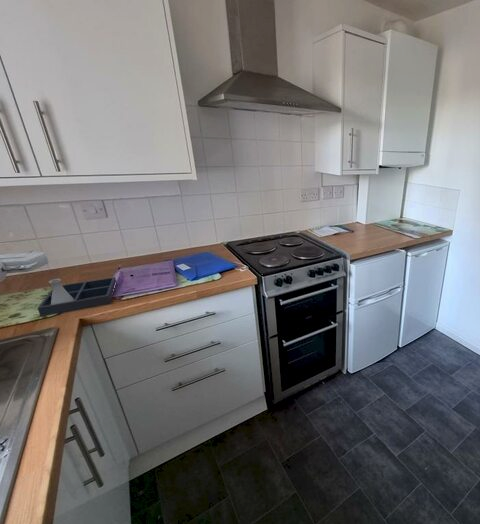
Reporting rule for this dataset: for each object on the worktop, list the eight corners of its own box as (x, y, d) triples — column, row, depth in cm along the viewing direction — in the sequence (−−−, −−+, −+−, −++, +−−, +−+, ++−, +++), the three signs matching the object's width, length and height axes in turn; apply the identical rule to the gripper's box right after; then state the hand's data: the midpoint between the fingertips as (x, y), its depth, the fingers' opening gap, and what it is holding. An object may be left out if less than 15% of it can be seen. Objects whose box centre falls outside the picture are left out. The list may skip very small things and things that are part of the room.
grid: (40, 317, 103) (37, 308, 102) (57, 294, 119) (54, 286, 118) (110, 304, 113) (108, 295, 111) (117, 284, 128) (115, 277, 127)
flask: (70, 299, 114) (62, 275, 110) (80, 303, 111) (72, 278, 107) (46, 307, 108) (36, 282, 104) (56, 312, 105) (46, 286, 101)
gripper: (26, 257, 80) (55, 242, 92) (-79, 263, 74) (-33, 246, 86) (34, 278, 82) (62, 261, 94) (-67, 286, 76) (-24, 267, 88)
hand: (16, 254), depth 90 cm, fingers open, 8 cm apart
